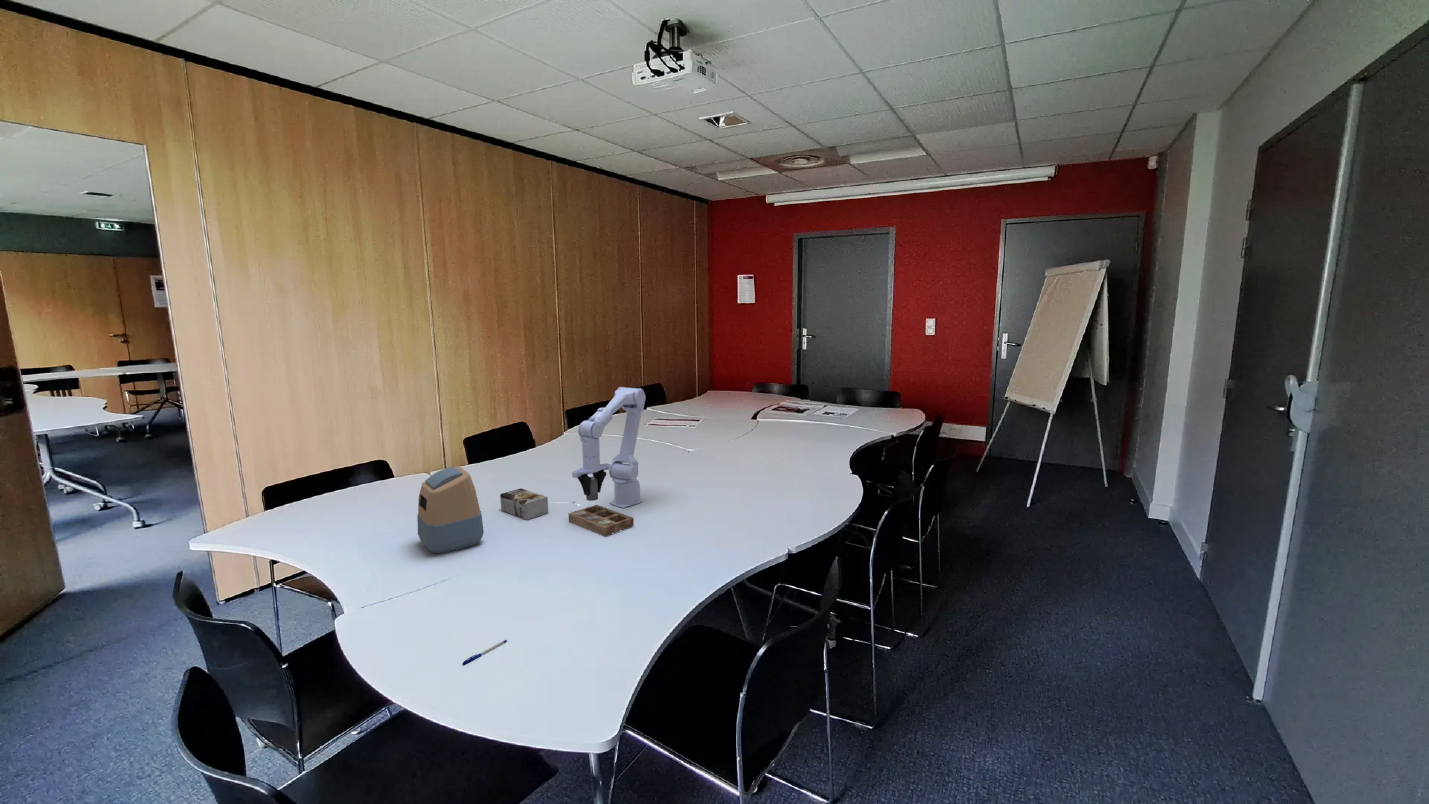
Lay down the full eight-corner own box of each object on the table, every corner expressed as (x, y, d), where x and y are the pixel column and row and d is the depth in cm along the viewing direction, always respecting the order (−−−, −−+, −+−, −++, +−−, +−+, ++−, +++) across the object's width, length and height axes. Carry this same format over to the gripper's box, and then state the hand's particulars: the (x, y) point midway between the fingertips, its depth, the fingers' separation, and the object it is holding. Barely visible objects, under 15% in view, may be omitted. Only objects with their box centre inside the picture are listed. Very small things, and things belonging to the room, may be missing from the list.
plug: (593, 496, 201) (592, 475, 200) (600, 498, 198) (599, 477, 197) (584, 499, 198) (583, 477, 197) (591, 501, 196) (590, 479, 194)
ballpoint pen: (464, 667, 117) (464, 662, 117) (461, 665, 118) (461, 661, 117) (507, 642, 126) (507, 638, 126) (504, 641, 126) (504, 637, 126)
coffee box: (526, 502, 197) (499, 493, 207) (527, 520, 198) (500, 510, 208) (548, 495, 204) (521, 487, 214) (548, 513, 205) (522, 503, 215)
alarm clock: (415, 541, 180) (410, 470, 176) (470, 529, 190) (466, 461, 187) (429, 559, 167) (423, 483, 163) (488, 544, 178) (483, 472, 174)
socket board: (596, 512, 206) (596, 503, 206) (633, 526, 193) (633, 516, 193) (568, 521, 197) (568, 512, 197) (605, 536, 184) (605, 526, 184)
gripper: (601, 449, 204) (602, 486, 206) (566, 457, 193) (567, 495, 195) (613, 453, 199) (614, 490, 201) (578, 461, 188) (580, 500, 191)
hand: (592, 493), depth 198 cm, fingers closed on plug, 4 cm apart
